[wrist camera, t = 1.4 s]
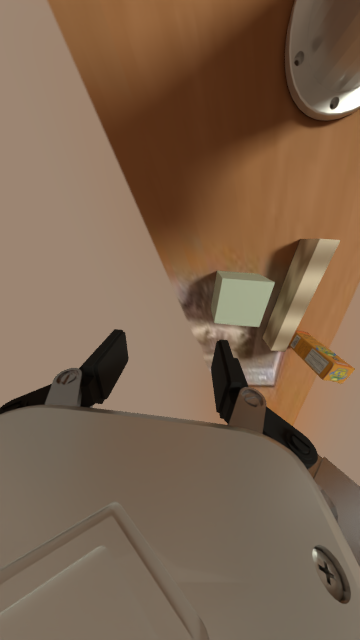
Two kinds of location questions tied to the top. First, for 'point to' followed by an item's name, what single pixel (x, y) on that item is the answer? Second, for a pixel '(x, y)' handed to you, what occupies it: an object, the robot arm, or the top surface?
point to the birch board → (298, 290)
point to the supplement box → (320, 358)
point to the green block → (240, 298)
